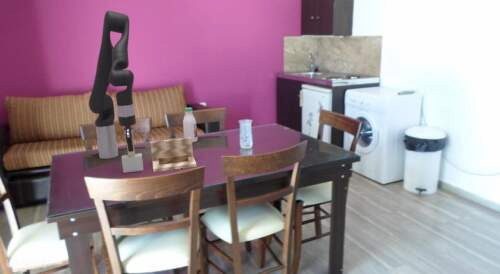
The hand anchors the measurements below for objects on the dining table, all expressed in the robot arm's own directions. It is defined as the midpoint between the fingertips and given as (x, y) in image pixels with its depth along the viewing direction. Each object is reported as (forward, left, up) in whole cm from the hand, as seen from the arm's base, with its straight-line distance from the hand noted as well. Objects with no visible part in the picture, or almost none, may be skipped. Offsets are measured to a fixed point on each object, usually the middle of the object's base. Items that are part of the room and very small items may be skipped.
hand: (131, 150), depth 181 cm
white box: (0, 0, -10) cm, 10 cm away
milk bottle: (+32, +40, -10) cm, 52 cm away
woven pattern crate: (+19, 0, -10) cm, 21 cm away
